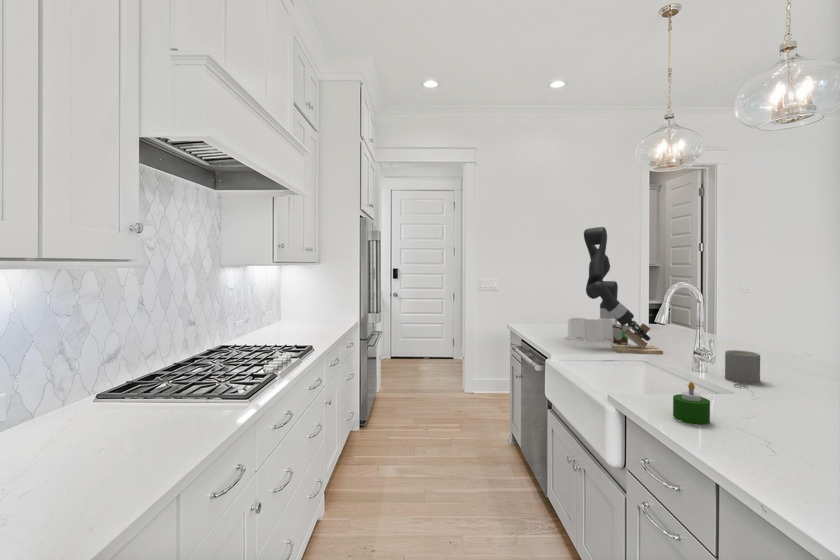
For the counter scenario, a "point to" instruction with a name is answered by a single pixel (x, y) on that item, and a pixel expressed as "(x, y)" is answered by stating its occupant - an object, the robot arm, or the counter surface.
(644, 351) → the oak board
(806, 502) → the counter surface
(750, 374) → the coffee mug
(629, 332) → the block
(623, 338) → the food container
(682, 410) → the candle
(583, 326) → the pale grey segmented block
